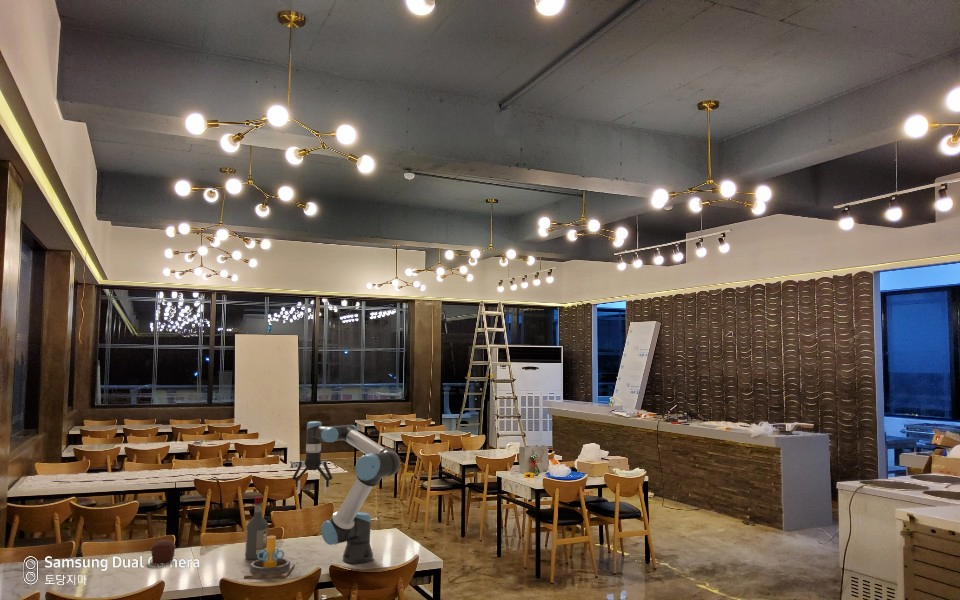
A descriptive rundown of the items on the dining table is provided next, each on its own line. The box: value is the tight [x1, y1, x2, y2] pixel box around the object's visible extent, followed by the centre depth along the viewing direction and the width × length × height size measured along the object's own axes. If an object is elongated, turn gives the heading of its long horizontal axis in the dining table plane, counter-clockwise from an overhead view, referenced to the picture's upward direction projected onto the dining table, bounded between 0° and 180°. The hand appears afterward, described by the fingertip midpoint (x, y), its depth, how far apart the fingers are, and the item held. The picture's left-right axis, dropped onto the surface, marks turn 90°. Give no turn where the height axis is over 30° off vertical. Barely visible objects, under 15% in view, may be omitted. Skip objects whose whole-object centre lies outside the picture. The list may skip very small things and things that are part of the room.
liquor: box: [244, 495, 269, 561], centre depth 346 cm, size 9×9×30 cm
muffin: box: [150, 539, 177, 565], centre depth 336 cm, size 12×11×10 cm
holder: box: [243, 557, 296, 579], centre depth 320 cm, size 19×19×4 cm
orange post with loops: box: [257, 535, 285, 567], centre depth 321 cm, size 12×10×15 cm
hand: (311, 493), depth 349 cm, fingers open, 13 cm apart
